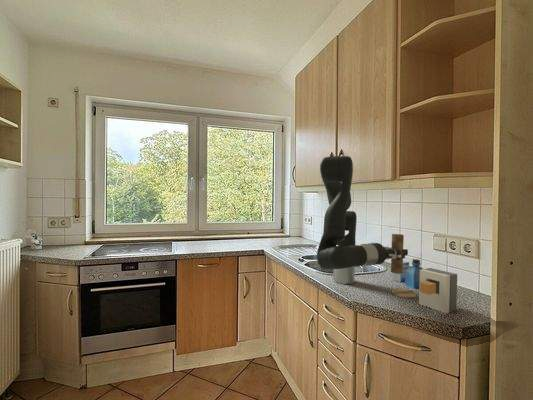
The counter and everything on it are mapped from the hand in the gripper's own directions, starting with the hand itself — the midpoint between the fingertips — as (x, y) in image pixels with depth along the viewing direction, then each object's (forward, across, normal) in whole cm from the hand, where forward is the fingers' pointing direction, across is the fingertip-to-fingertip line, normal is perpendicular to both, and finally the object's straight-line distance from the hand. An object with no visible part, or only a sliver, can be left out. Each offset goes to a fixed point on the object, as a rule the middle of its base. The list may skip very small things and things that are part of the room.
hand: (401, 251), depth 112 cm
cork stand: (+12, +7, +20) cm, 24 cm away
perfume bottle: (+27, +12, +20) cm, 35 cm away
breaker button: (+4, -8, +14) cm, 16 cm away
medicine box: (+29, +22, +20) cm, 42 cm away
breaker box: (+10, -8, +20) cm, 24 cm away
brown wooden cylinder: (-2, 0, +8) cm, 8 cm away
